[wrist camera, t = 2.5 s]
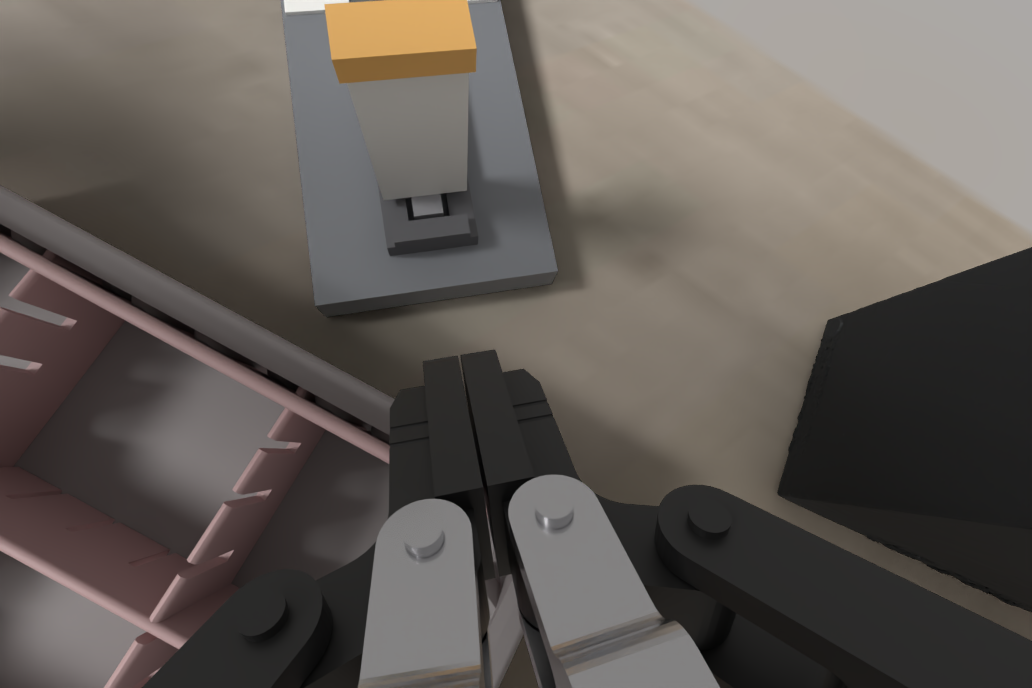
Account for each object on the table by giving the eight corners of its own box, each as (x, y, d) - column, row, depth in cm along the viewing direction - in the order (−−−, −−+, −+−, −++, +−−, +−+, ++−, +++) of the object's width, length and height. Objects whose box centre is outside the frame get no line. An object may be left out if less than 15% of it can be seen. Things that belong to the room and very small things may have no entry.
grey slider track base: (551, 284, 28) (563, 259, 24) (325, 317, 26) (305, 296, 23) (477, -69, 32) (479, -131, 29) (282, -60, 31) (259, -125, 27)
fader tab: (473, 220, 25) (481, 70, 16) (385, 231, 25) (335, 82, 15) (462, 156, 26) (462, -26, 16) (376, 165, 26) (321, -18, 16)
